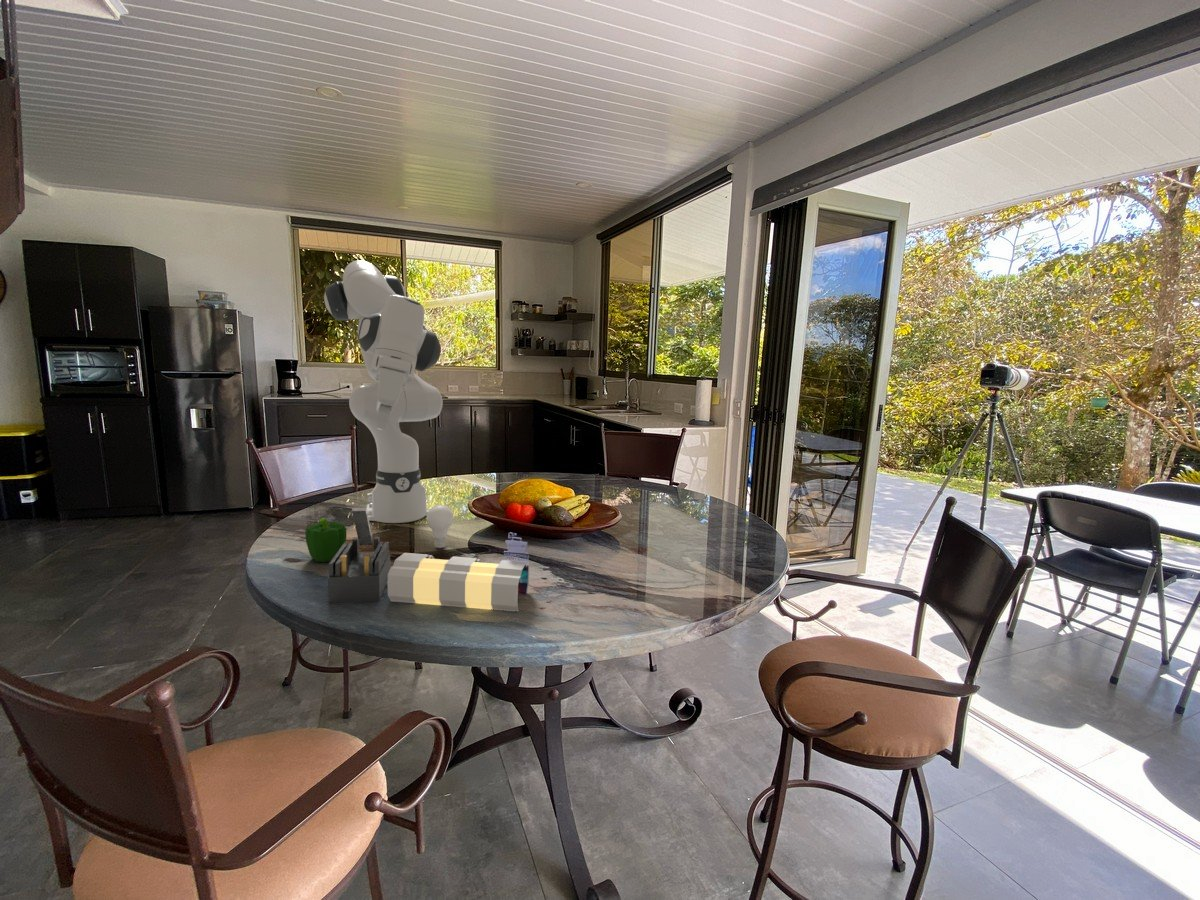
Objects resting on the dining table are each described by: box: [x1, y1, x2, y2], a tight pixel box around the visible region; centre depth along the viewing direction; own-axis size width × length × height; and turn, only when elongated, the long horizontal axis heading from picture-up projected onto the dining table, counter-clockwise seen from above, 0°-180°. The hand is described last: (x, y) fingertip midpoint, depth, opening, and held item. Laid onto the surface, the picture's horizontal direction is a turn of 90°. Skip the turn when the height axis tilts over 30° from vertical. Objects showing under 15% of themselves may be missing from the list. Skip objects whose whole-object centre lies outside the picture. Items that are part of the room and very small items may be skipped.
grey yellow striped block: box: [387, 531, 530, 613], centre depth 104 cm, size 25×10×13 cm, turn 86°
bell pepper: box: [304, 517, 347, 563], centre depth 120 cm, size 8×8×10 cm
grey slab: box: [351, 507, 374, 546], centre depth 107 cm, size 12×2×1 cm
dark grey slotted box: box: [327, 536, 391, 603], centre depth 106 cm, size 13×9×8 cm
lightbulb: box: [426, 504, 454, 550], centre depth 130 cm, size 6×6×11 cm
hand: (380, 429), depth 114 cm, fingers closed
